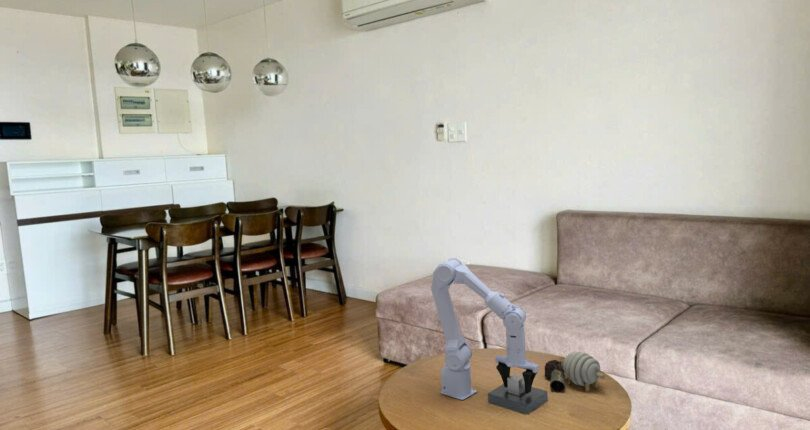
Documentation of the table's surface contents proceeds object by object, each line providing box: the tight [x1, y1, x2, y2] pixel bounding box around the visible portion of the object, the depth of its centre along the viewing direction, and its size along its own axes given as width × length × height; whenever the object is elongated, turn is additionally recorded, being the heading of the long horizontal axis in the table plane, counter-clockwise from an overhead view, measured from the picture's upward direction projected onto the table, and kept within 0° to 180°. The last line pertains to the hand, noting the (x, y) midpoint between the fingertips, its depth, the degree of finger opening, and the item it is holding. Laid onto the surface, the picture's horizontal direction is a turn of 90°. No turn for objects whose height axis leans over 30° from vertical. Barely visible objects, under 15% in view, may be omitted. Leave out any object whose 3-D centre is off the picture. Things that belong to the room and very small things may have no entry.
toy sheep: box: [561, 351, 606, 392], centre depth 183 cm, size 11×17×11 cm, turn 37°
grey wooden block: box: [507, 373, 526, 397], centre depth 175 cm, size 4×4×8 cm
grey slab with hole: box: [487, 383, 549, 415], centre depth 175 cm, size 14×12×3 cm
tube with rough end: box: [544, 359, 566, 393], centre depth 189 cm, size 18×7×6 cm, turn 165°
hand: (517, 389), depth 175 cm, fingers open, 7 cm apart
